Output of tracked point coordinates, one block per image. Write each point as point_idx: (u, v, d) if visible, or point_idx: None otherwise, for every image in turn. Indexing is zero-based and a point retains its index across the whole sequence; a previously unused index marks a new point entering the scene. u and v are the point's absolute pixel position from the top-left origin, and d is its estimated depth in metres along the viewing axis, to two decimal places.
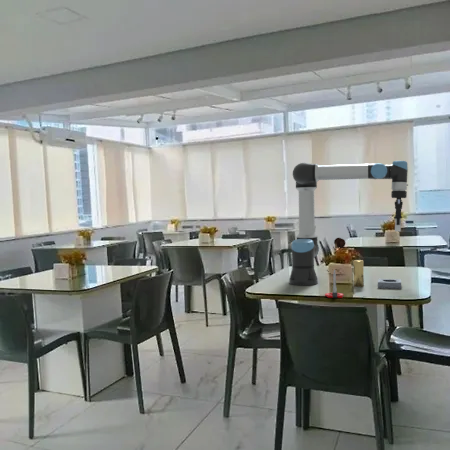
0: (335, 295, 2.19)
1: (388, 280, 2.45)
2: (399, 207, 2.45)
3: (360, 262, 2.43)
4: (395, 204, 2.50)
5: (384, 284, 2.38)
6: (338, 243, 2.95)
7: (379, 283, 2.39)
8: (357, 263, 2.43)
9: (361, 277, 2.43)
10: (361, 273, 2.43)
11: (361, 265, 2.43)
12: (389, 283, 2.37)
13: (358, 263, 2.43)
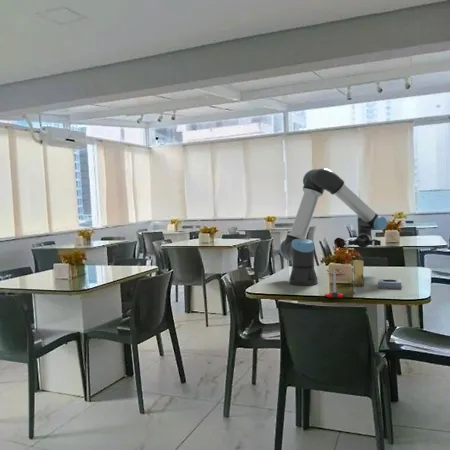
0: (335, 295, 2.19)
1: (388, 280, 2.45)
2: None
3: (360, 262, 2.43)
4: (367, 239, 2.65)
5: (384, 284, 2.38)
6: (338, 243, 2.95)
7: (379, 283, 2.39)
8: (357, 263, 2.43)
9: (361, 277, 2.43)
10: (361, 273, 2.43)
11: (361, 265, 2.43)
12: (389, 283, 2.37)
13: (358, 263, 2.43)
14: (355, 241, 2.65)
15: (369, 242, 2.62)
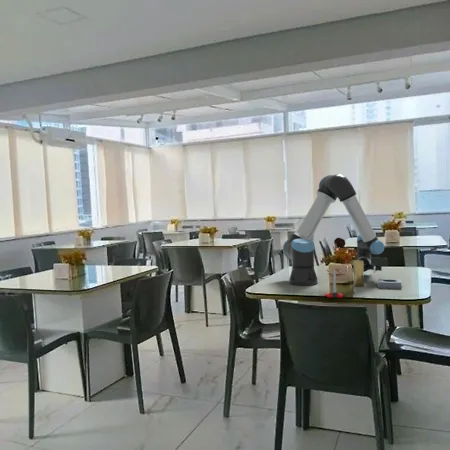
0: (335, 295, 2.19)
1: (388, 280, 2.45)
2: None
3: (360, 262, 2.43)
4: (367, 263, 2.61)
5: (384, 284, 2.38)
6: (338, 243, 2.95)
7: (379, 283, 2.39)
8: (357, 263, 2.43)
9: (361, 277, 2.43)
10: (361, 273, 2.43)
11: (361, 265, 2.43)
12: (389, 283, 2.37)
13: (358, 263, 2.43)
14: None
15: (370, 266, 2.57)
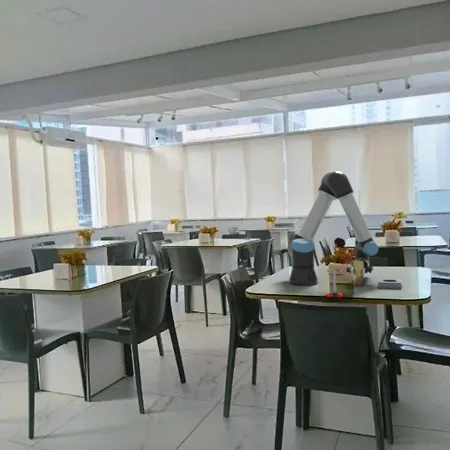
0: (335, 295, 2.19)
1: (388, 280, 2.45)
2: None
3: (360, 262, 2.43)
4: (364, 265, 2.54)
5: (384, 284, 2.38)
6: (338, 243, 2.95)
7: (379, 283, 2.39)
8: (357, 263, 2.43)
9: (361, 277, 2.43)
10: (361, 273, 2.43)
11: (361, 265, 2.43)
12: (389, 283, 2.37)
13: (358, 263, 2.43)
14: None
15: None
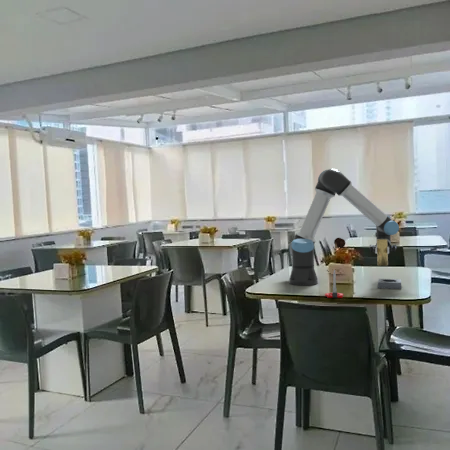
0: (335, 295, 2.19)
1: (388, 280, 2.45)
2: None
3: (384, 240, 2.39)
4: (387, 244, 2.51)
5: (384, 284, 2.38)
6: (338, 243, 2.95)
7: (379, 283, 2.39)
8: (381, 242, 2.40)
9: (385, 256, 2.40)
10: (385, 252, 2.40)
11: (385, 243, 2.40)
12: (389, 283, 2.37)
13: (382, 242, 2.39)
14: None
15: None
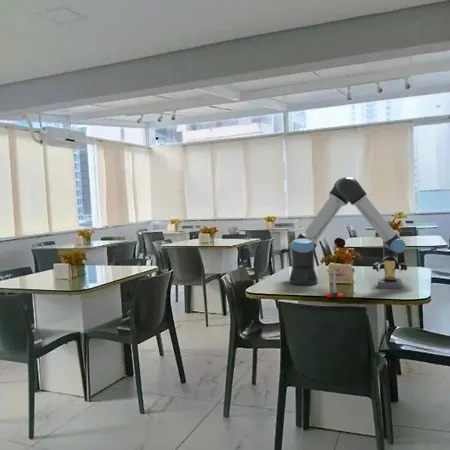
0: (335, 295, 2.19)
1: None
2: None
3: (392, 262, 2.39)
4: (395, 262, 2.50)
5: (384, 284, 2.38)
6: (338, 243, 2.95)
7: (379, 283, 2.39)
8: (389, 263, 2.39)
9: (393, 278, 2.39)
10: (393, 273, 2.39)
11: (393, 265, 2.39)
12: (389, 283, 2.37)
13: (390, 264, 2.39)
14: None
15: (396, 266, 2.46)
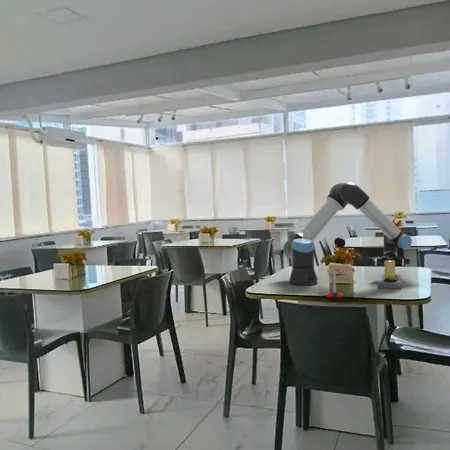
0: (335, 295, 2.19)
1: None
2: None
3: (392, 262, 2.39)
4: (395, 257, 2.62)
5: (384, 284, 2.38)
6: (338, 243, 2.95)
7: (379, 283, 2.39)
8: (389, 263, 2.39)
9: (393, 278, 2.39)
10: (393, 273, 2.39)
11: (393, 265, 2.39)
12: (389, 283, 2.37)
13: (390, 264, 2.39)
14: (383, 259, 2.62)
15: (398, 260, 2.59)
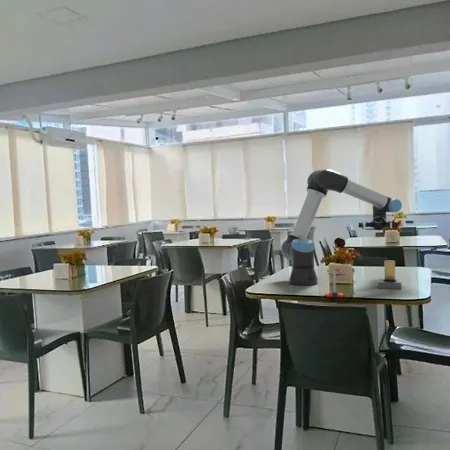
0: (335, 295, 2.19)
1: None
2: None
3: (392, 262, 2.39)
4: (383, 221, 2.64)
5: (384, 284, 2.38)
6: (338, 243, 2.95)
7: (379, 283, 2.39)
8: (389, 263, 2.39)
9: (393, 277, 2.39)
10: (393, 273, 2.39)
11: (393, 265, 2.39)
12: (389, 283, 2.37)
13: (390, 264, 2.39)
14: (371, 223, 2.64)
15: (386, 224, 2.60)
